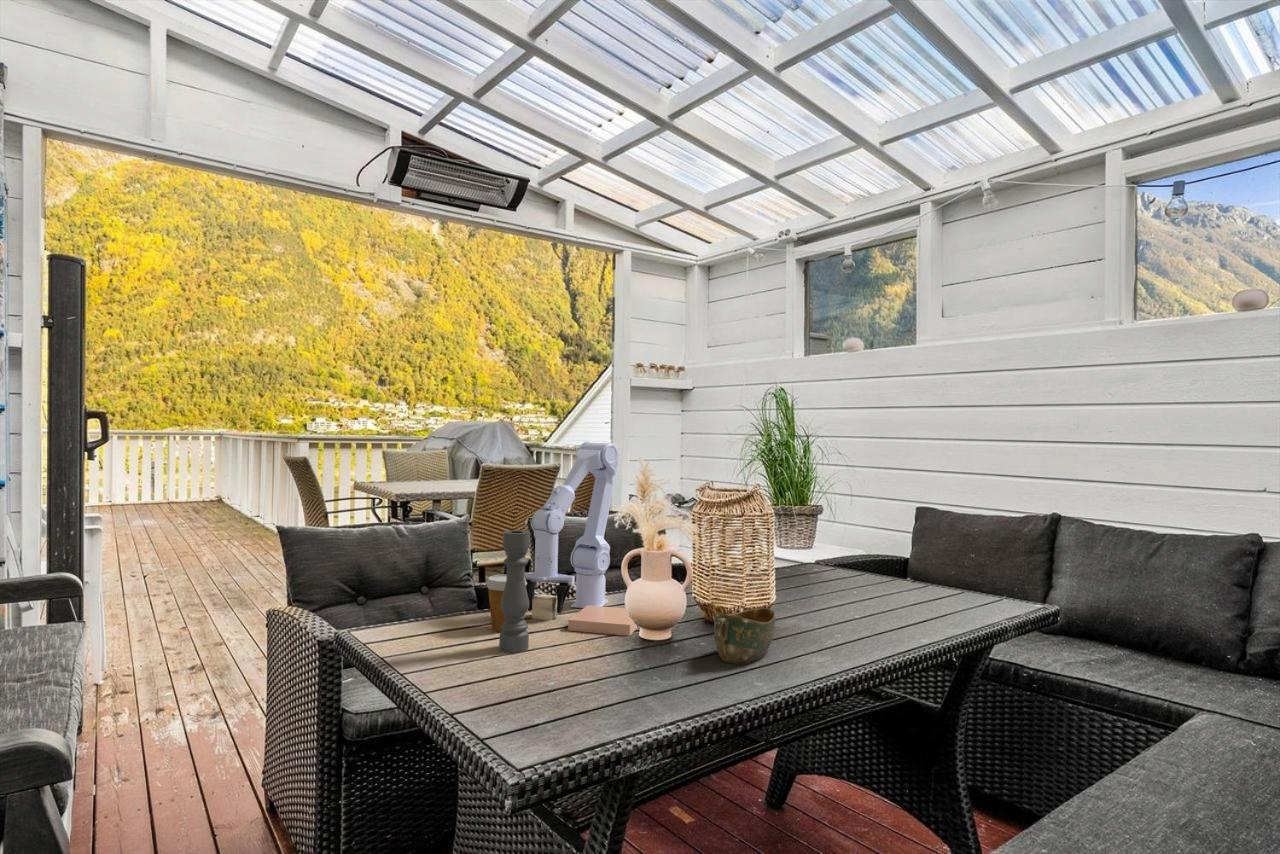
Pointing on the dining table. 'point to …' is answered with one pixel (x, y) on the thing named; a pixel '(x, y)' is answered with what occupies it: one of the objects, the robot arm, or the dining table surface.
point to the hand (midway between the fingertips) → (545, 611)
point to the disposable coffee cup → (496, 599)
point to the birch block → (544, 607)
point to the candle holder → (515, 593)
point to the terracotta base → (602, 621)
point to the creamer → (744, 635)
